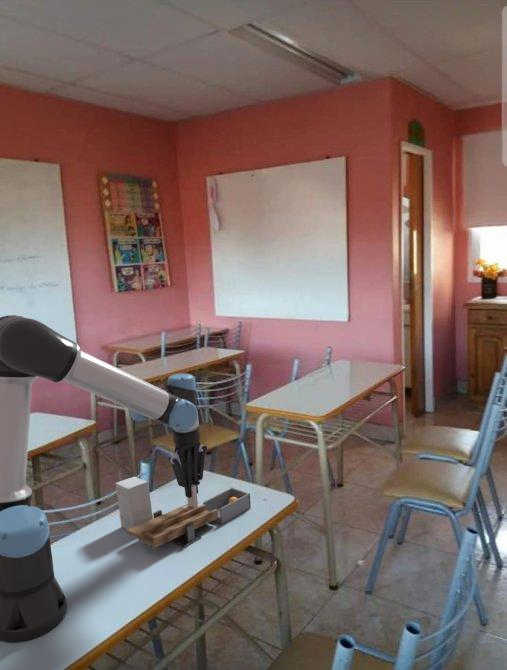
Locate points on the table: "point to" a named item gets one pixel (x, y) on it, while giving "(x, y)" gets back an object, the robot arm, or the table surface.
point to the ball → (232, 499)
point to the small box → (133, 502)
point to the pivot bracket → (185, 538)
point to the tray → (226, 509)
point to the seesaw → (172, 524)
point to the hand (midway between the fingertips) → (192, 505)
